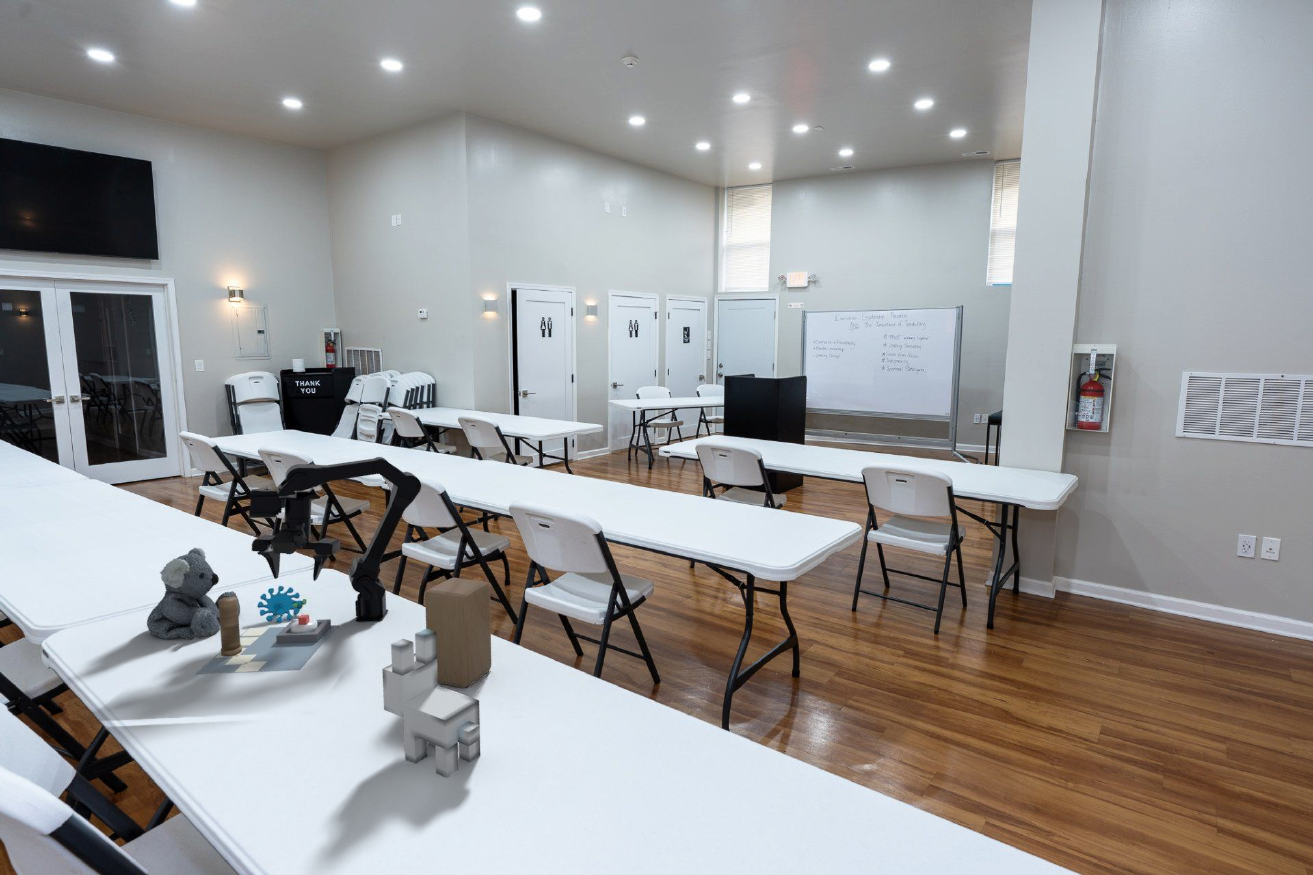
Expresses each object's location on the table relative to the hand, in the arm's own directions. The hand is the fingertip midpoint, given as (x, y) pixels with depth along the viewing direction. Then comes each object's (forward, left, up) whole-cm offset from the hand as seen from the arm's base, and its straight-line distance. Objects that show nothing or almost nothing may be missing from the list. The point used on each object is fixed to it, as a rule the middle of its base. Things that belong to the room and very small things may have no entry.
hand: (295, 579), depth 166 cm
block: (-44, +28, -13) cm, 53 cm away
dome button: (-4, +6, -12) cm, 13 cm away
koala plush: (+26, -3, -13) cm, 30 cm away
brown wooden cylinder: (+9, +14, -12) cm, 21 cm away
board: (+1, +12, -13) cm, 18 cm away
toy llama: (-45, +57, -13) cm, 74 cm away
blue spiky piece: (+7, -8, -13) cm, 17 cm away
